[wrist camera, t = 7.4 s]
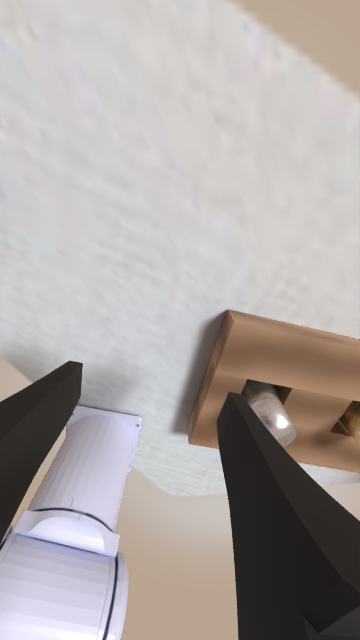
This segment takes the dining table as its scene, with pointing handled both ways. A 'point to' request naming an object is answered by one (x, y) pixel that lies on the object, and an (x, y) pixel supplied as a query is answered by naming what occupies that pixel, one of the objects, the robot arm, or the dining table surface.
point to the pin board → (285, 384)
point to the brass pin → (352, 420)
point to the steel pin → (269, 410)
